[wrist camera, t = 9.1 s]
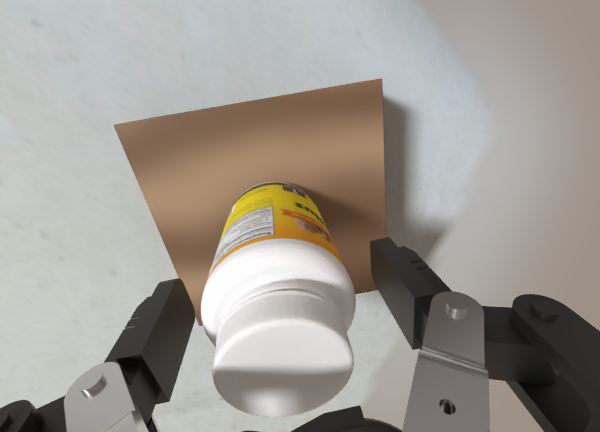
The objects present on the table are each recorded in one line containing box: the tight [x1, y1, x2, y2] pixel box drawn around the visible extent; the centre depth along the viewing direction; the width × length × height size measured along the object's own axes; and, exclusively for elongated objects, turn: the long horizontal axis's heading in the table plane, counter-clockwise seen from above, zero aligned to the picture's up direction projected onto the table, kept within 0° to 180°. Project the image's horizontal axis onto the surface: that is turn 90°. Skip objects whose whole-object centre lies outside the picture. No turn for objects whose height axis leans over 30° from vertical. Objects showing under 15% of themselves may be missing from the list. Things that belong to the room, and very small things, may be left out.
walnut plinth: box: [114, 79, 386, 326], centre depth 19 cm, size 14×14×4 cm
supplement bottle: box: [201, 182, 356, 417], centre depth 12 cm, size 6×6×10 cm
